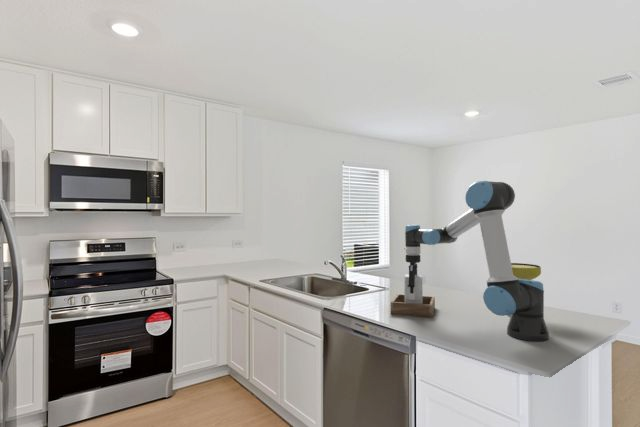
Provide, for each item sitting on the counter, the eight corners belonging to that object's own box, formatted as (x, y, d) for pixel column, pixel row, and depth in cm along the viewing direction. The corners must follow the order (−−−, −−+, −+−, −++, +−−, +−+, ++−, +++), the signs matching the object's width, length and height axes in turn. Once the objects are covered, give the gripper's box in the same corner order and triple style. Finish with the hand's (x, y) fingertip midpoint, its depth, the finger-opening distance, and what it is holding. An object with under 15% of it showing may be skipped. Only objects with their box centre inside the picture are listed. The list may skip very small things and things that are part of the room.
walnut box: (431, 317, 180) (431, 305, 180) (390, 314, 188) (390, 302, 188) (434, 307, 199) (434, 296, 199) (397, 304, 206) (397, 294, 206)
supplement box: (423, 306, 188) (422, 277, 188) (404, 306, 190) (404, 276, 190) (421, 302, 197) (421, 274, 197) (404, 302, 199) (404, 274, 199)
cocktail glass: (528, 311, 190) (528, 262, 190) (549, 322, 172) (549, 268, 172) (492, 311, 190) (492, 263, 190) (510, 322, 172) (509, 268, 172)
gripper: (408, 252, 205) (408, 292, 205) (402, 256, 184) (402, 301, 184) (422, 252, 202) (422, 293, 202) (417, 257, 182) (418, 302, 182)
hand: (413, 297), depth 193 cm, fingers closed on supplement box, 10 cm apart
